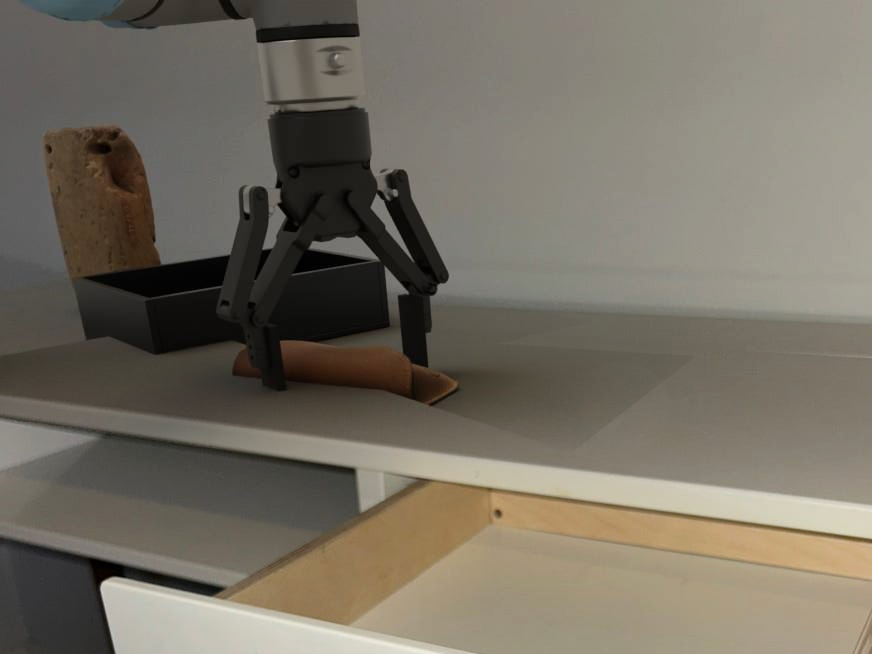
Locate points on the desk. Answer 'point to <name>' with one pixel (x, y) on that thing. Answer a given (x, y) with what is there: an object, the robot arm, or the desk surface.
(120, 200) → the block
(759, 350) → the desk surface
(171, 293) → the open box
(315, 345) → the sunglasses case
